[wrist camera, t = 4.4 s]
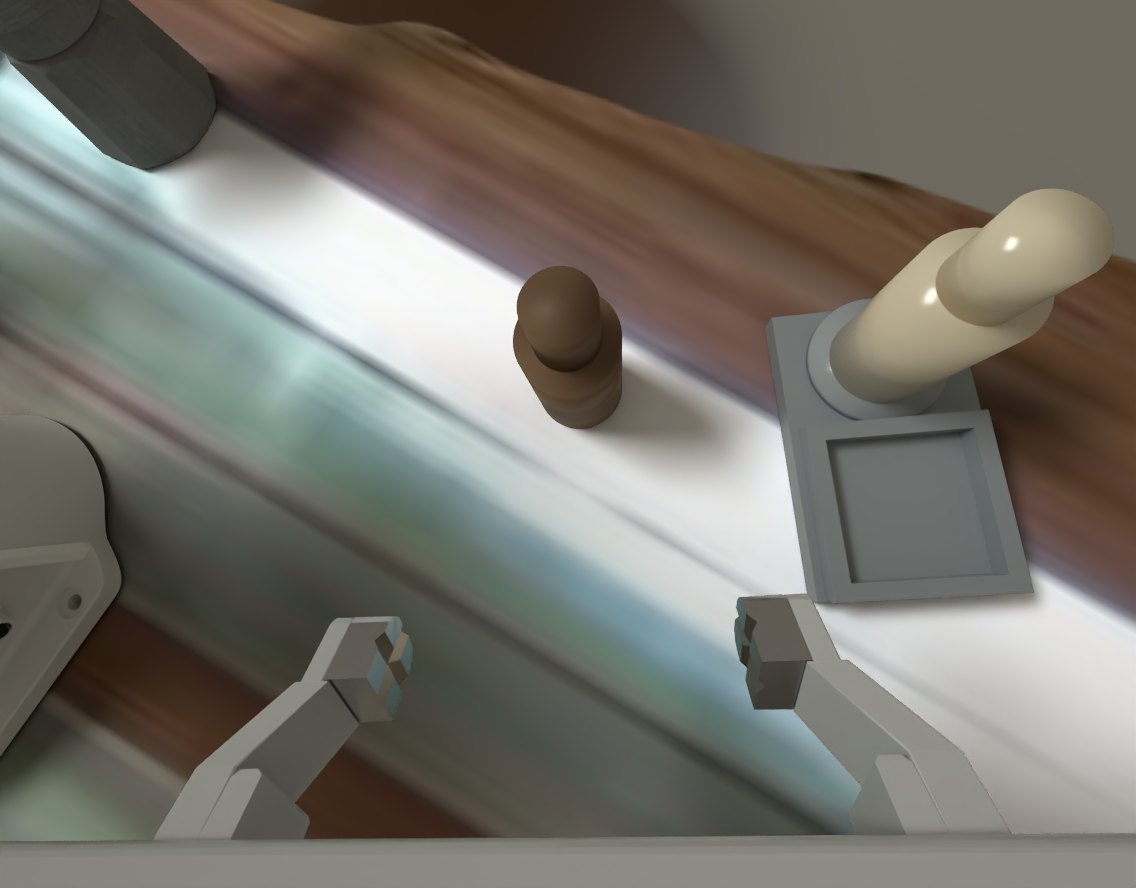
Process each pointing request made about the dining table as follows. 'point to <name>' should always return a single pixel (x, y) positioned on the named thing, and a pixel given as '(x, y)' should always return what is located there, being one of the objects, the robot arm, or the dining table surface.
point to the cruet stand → (921, 408)
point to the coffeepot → (111, 75)
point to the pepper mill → (569, 346)
